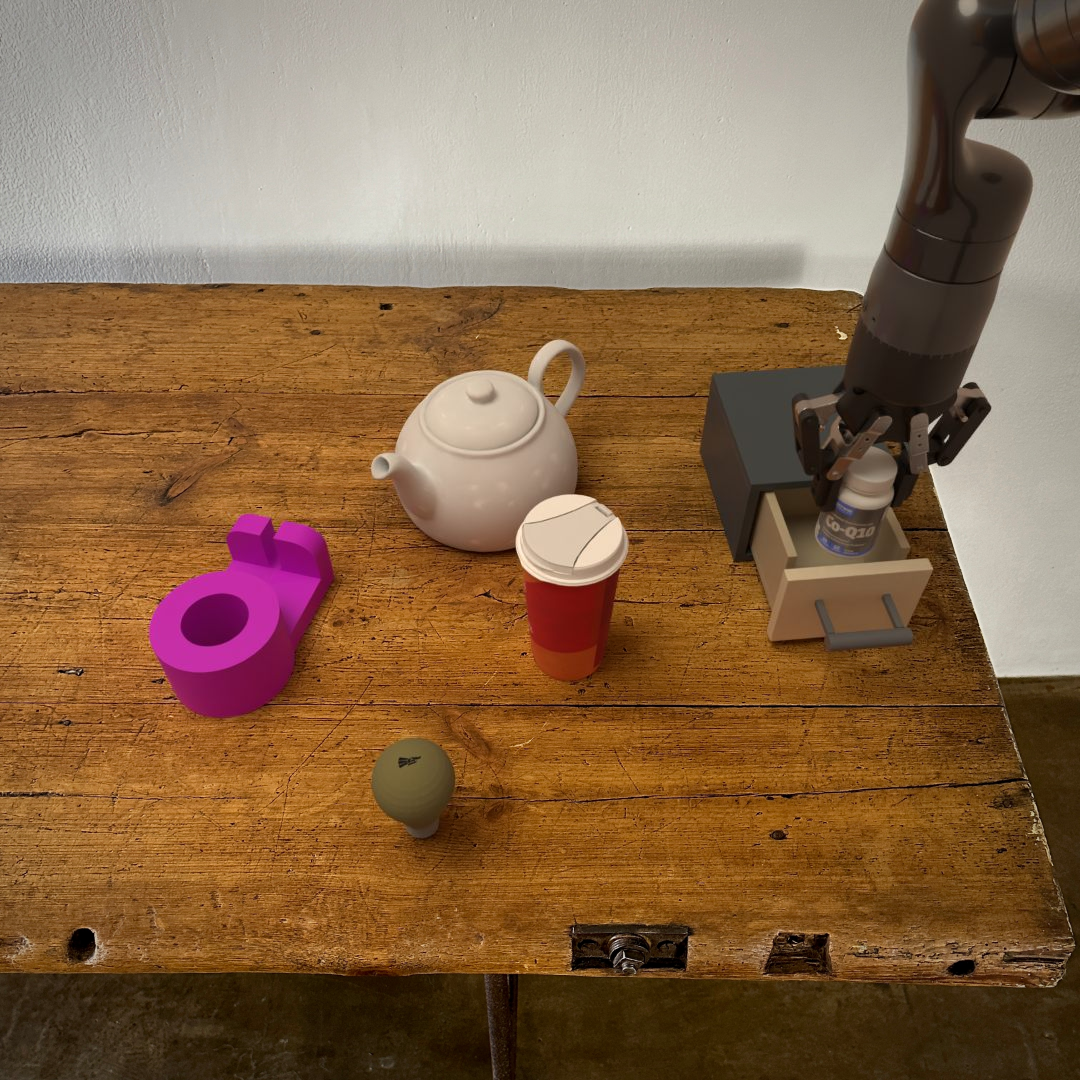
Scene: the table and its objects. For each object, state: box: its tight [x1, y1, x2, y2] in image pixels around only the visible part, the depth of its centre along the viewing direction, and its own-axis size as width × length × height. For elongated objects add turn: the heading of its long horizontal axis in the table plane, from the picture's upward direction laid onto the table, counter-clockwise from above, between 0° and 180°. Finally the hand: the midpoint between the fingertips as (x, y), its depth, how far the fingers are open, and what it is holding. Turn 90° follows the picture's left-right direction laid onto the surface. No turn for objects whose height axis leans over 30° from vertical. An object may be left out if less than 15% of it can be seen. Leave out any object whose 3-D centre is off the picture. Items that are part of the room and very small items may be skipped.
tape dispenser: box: [148, 513, 335, 719], centre depth 80 cm, size 16×10×6 cm, turn 165°
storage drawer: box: [748, 488, 934, 653], centre depth 81 cm, size 18×12×8 cm, turn 6°
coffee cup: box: [515, 494, 630, 682], centre depth 75 cm, size 8×8×15 cm
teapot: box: [370, 339, 587, 553], centre depth 88 cm, size 19×18×14 cm
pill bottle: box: [815, 447, 898, 559], centre depth 75 cm, size 5×5×8 cm
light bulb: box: [371, 737, 456, 839], centre depth 67 cm, size 6×6×10 cm
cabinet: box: [699, 364, 893, 562], centre depth 89 cm, size 15×13×10 cm
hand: (857, 501), depth 75 cm, fingers closed on pill bottle, 4 cm apart
